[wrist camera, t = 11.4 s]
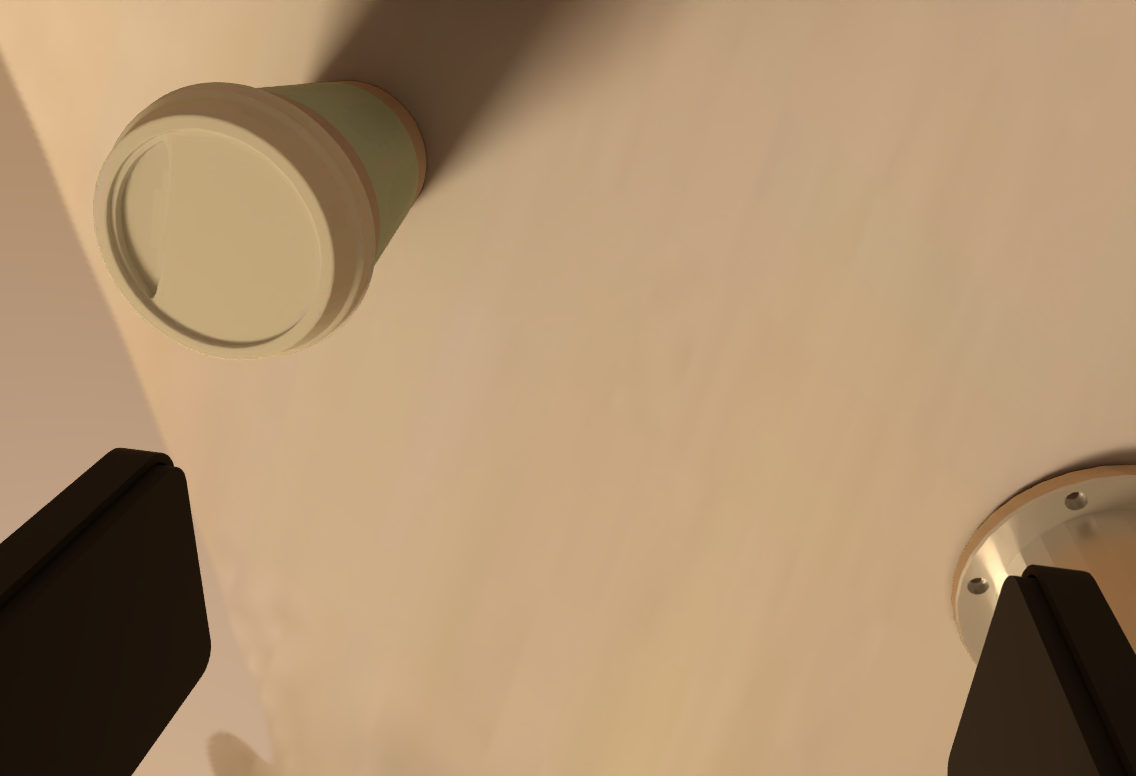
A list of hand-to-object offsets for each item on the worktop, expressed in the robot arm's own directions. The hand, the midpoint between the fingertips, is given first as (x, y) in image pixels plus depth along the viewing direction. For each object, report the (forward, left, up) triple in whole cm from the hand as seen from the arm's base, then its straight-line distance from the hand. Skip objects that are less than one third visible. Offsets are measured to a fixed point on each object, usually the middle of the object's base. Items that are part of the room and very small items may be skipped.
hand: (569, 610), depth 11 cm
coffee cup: (+13, +2, -28) cm, 31 cm away
